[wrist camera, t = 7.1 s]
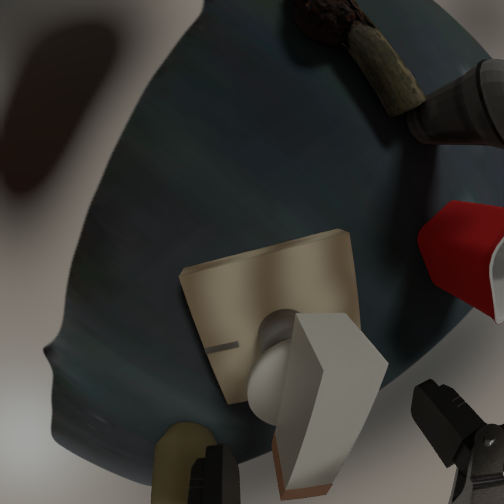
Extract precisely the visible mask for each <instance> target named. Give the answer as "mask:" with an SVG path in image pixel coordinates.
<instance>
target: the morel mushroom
mask: <svg viewBox="0 0 504 504" xmlns="http://www.w3.org/2000/svg"><path fill="white" fill-rule="evenodd" d="M293 1H294V6H295V9H294V19H295V22H296V24H297V25H298V26H299V27H300V29H301V31H302V32H304V34H305V35H307V36H308V37H310V38H311V39H313V40H316V41H320V42H325V43H328V44H333V45H344V46H345V47H346V49H347V50H348V52H349V53H350V54H351V56H352V57H353V58H354V60H355V61H356V63H357V64H358V66H359V67H360V68H361V70H362V71H363V73H364V74H365V76H366V78H367V79H368V81H369V83H370V84H371V86H372V87H373V89H374V91H375V92H376V94H377V95H378V97H379V99H380V100H381V102H382V104H383V106H384V108H385V110H386V111H387V113H388V115H389V117H395V116H398V115H400V114H403V113H405V112H407V111H410V110H411V109H413V108H415V107H417V106H419V105H420V104H421V103H422V102H425V100H426V97H425V95H424V93H423V91H422V90H421V88H420V87H419V85H418V83H417V82H416V80H415V78H414V77H413V75H412V74H411V72H410V71H409V69H408V68H407V66H406V65H405V63H404V62H403V60H402V59H401V58H400V56H399V55H398V54H397V52H396V51H395V50H394V48H393V47H392V46H391V44H390V43H389V42H388V40H387V39H386V38H385V37H384V35H383V34H382V33H381V32H380V30H379V29H378V28H377V27H376V26H375V25H374V23H373V22H372V21H371V20H370V19H369V18H368V17H367V16H366V14H365V13H364V12H362V11H361V9H360V8H359V6H358V5H357V3H356V1H355V0H293Z"/></svg>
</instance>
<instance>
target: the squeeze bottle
mask: <svg viewBox="0 0 504 504" xmlns="http://www.w3.org/2000/svg"><path fill="white" fill-rule="evenodd" d="M208 445H217V443H216V441H215V438H214V436H213V433H212V432H211V431H210V430H209V429H208V428H206V427H204V426H202V425H200V424H197V423H191V422H179V423H176V424H173V425H172V426H171V427H170V428H169V429H168V430H167V431H166V433H165V434H164V435H163V436H162V438H161V439H160V440H159V441H158V443H157V444H156V445H155V454H154V465H153V477H152V492H151V504H187V501H188V492H189V488H190V487H189V483H190V474H191V468H192V466H193V464H194V463H195V461H196V459H197V458H205V453H206V447H207V446H208Z"/></svg>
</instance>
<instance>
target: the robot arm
mask: <svg viewBox="0 0 504 504" xmlns="http://www.w3.org/2000/svg"><path fill="white" fill-rule="evenodd" d="M411 414H412V417H413V419H414V421H415V422H416V424H417V425H418V427H419V428H420V429H421V431H422V432H423V434H424V435H425V437H426V438H427V440H428V441H429V442H430V444H431V445H432V447H433V448H434V450H435V451H436V453H437V454H438V456H439V457H440V458H441V460H442V462H443V463H444V465H445V466H446V468H448V467H450V466H451V465H453V464H454V463H455V465H456V466H457V469H456V473H455V478H454V484H453V488H452V492H451V496H450V500H449V504H504V476H503V472H504V424H502V425H496V424H487V423H485V422H484V421H483V420H482V419H481V418H480V417H479V416H478V415H477V414H476V412H475V411H474V410H473V409H472V408H471V407H470V406H469V405H468V404H467V403H465V401H464V400H463V399H462V397H460V396H459V394H458V393H457V392H456V391H455V390H454V389H453V388H451V387H449V386H446V385H444V384H443V385H441V386H438V385H437V384H436V383H435V382H434V381H433V380H432V379H429V380H427V381H425V382H423V383H421V384H419V385H417V386H416V387H415V388H414V393H413V399H412V405H411ZM239 479H240V478H239V468H238V464H237V462H236V460H235V458H234V456H233V455H232V453H231V451H230V450H229V448H228V446H227V445H226V444H217V445H208V446H207V447H206V453H205V458H197V459H196V461H195V463H194V464H193V466H192V468H191V474H190V483H189V487H190V488H189V492H188V501H187V504H240V480H239Z"/></svg>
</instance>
